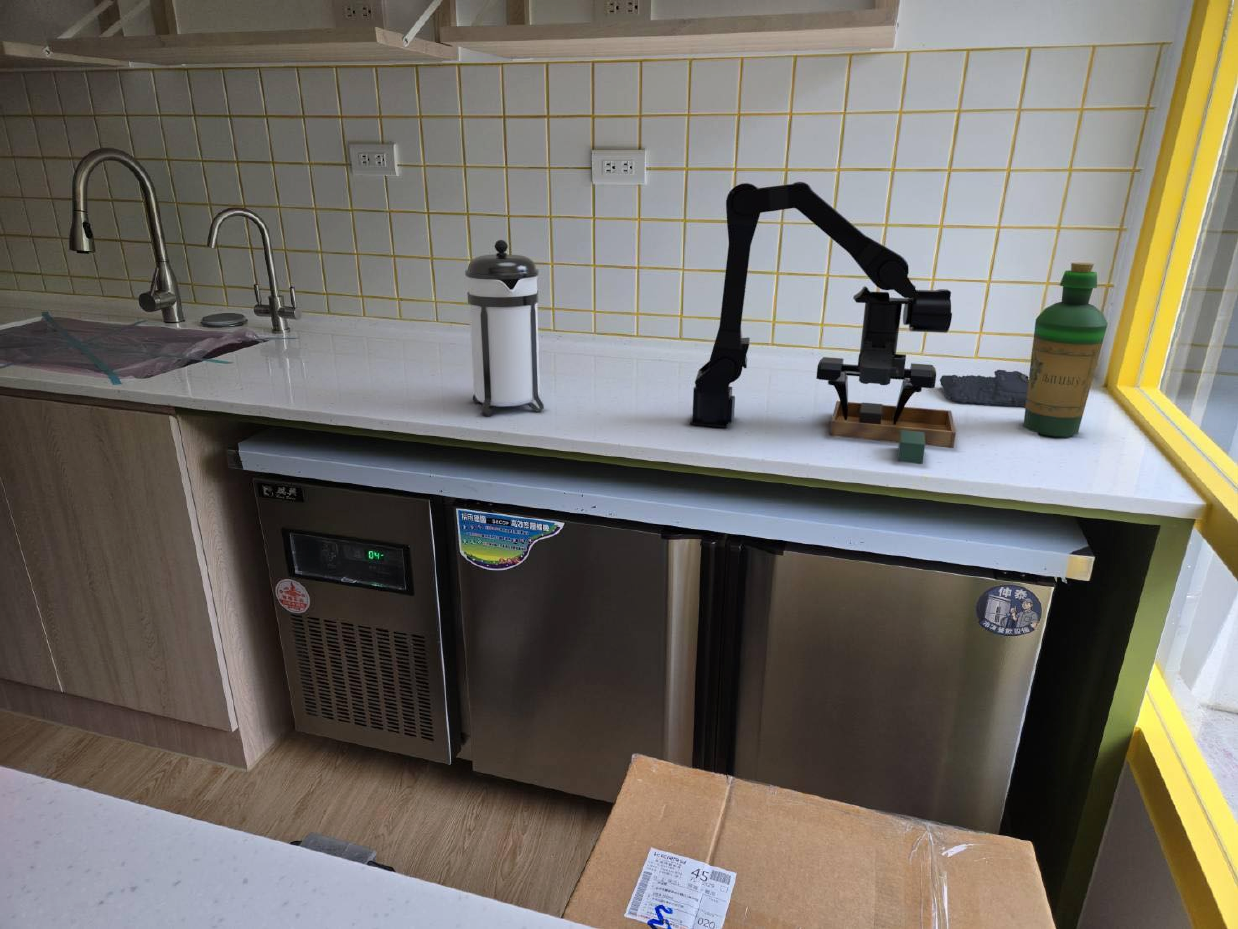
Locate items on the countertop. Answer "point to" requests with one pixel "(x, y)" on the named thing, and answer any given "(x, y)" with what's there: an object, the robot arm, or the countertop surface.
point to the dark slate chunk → (988, 389)
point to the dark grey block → (870, 413)
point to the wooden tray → (911, 419)
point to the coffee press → (504, 330)
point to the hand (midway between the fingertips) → (869, 421)
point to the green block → (911, 446)
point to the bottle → (1064, 356)
